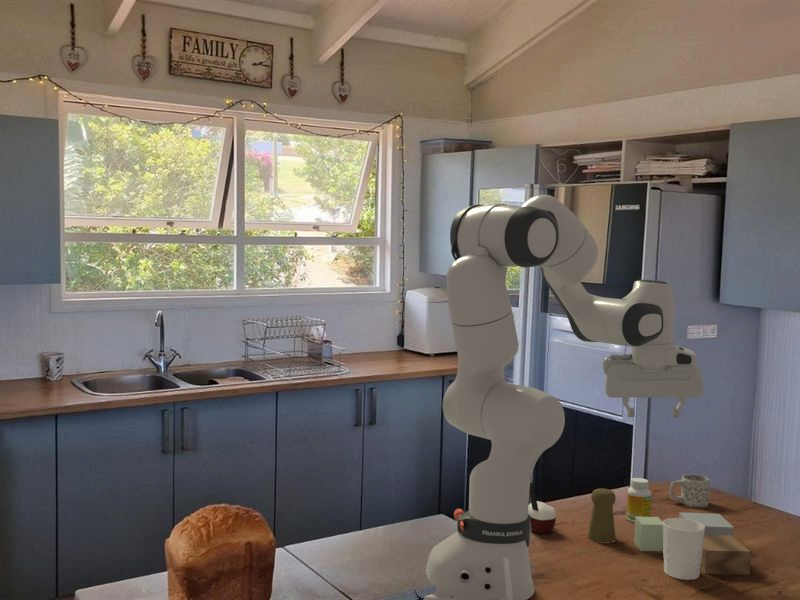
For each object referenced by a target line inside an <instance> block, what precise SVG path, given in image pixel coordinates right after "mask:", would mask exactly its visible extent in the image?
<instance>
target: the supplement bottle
mask: <svg viewBox="0 0 800 600" xmlns="http://www.w3.org/2000/svg"><path fill="white" fill-rule="evenodd" d="M649 484H650V483H649V480H648V479H646V478H643V477H633V478H630V486H631V487H628V489H627V495H626V496H627V497H626V498H627V500H626V501H627V502H626V519H627V521H628V522H631V523H634V522H635V517H651V510H652V509H651V507H652V505H651V504H652V503H651V502H652V491H651V489H649Z"/></svg>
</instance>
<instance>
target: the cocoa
mask: <svg viewBox="0 0 800 600" xmlns="http://www.w3.org/2000/svg"><path fill="white" fill-rule="evenodd" d="M529 500H530V503H529V504H528V514H529V517H530V522H531V530H532V531H533V532H534V533H536V534H541V535H547V534H549V533H551V532H552V531H553V530H555V529H554V528H555V526H556V521H557V520H556V519H557V513H556V509H555V508H554V507H553V506H550V505H548V504H547V503H545V502H543V501H539V500H537V496H536V491H535V486H534V483H533V482H531V481H530V489H529Z"/></svg>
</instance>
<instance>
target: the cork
mask: <svg viewBox="0 0 800 600" xmlns="http://www.w3.org/2000/svg"><path fill="white" fill-rule="evenodd" d="M590 496H591V498H590V499H591V502H592V503H593V506H592V510H591V511H592V513H591V517H590V522H589V530H588V533H587V534H588V535H587V538H588V539H589V540H590V539H591V540H593V541H592V542H594V541H597V542H596V543H598V542H612V541H614V540H615V539H616V537H617V536H616V529H615V528H616V527H615V518H614V508H613V507H614V504H615V502H616V494H615V492H614V491H613V490H612V489H608V488H596V489H593V490H592V493H591V495H590ZM591 540H590V541H591ZM616 540H617V539H616Z"/></svg>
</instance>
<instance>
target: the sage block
mask: <svg viewBox="0 0 800 600" xmlns="http://www.w3.org/2000/svg"><path fill="white" fill-rule="evenodd" d="M633 540H634V542H635V544H636V545H637V546H638V547H639V549H640V550H641V551H663V520H661V519H660V517H659V516H650V517H635V523H634V539H633ZM634 542H633V543H634ZM635 544H634V545H635ZM636 545H635V546H636ZM637 546H636V547H637ZM638 547H637V548H638ZM639 549H638V550H639ZM640 550H639V551H640ZM641 551H640V552H641Z"/></svg>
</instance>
